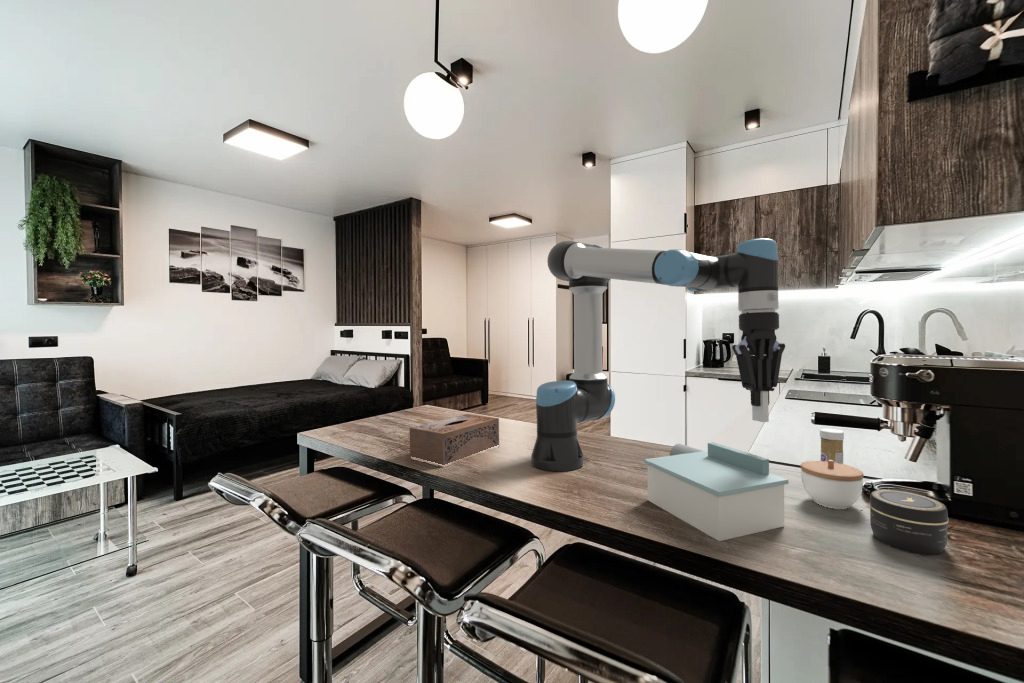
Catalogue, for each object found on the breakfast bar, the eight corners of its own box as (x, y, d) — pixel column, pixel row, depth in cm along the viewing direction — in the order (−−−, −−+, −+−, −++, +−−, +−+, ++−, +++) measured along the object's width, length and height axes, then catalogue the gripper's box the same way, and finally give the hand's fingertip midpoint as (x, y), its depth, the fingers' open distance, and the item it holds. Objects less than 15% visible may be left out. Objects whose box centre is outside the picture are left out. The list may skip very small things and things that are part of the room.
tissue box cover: (467, 441, 149) (466, 413, 148) (499, 447, 140) (498, 418, 140) (410, 460, 128) (409, 427, 128) (443, 468, 119) (442, 433, 119)
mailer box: (647, 500, 94) (647, 464, 93) (704, 490, 99) (704, 456, 99) (719, 541, 75) (718, 496, 75) (784, 526, 80) (784, 484, 80)
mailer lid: (644, 462, 94) (643, 446, 94) (704, 454, 99) (703, 438, 99) (718, 496, 74) (718, 475, 74) (788, 483, 80) (788, 463, 79)
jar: (945, 540, 74) (945, 497, 74) (951, 564, 66) (951, 516, 66) (870, 524, 80) (870, 484, 80) (868, 544, 73) (868, 500, 73)
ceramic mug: (698, 483, 104) (698, 452, 104) (667, 474, 110) (668, 445, 110) (718, 474, 110) (718, 445, 110) (688, 467, 117) (688, 439, 117)
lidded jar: (821, 491, 97) (821, 451, 97) (875, 509, 87) (875, 464, 87) (789, 498, 93) (789, 456, 93) (842, 518, 83) (842, 471, 83)
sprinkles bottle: (815, 483, 102) (815, 428, 102) (830, 481, 103) (829, 427, 103) (834, 490, 98) (833, 432, 97) (849, 488, 99) (848, 431, 98)
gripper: (750, 310, 85) (753, 426, 85) (796, 310, 89) (798, 421, 89) (721, 313, 92) (723, 420, 92) (765, 313, 96) (766, 415, 96)
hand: (760, 420), depth 91 cm, fingers closed
